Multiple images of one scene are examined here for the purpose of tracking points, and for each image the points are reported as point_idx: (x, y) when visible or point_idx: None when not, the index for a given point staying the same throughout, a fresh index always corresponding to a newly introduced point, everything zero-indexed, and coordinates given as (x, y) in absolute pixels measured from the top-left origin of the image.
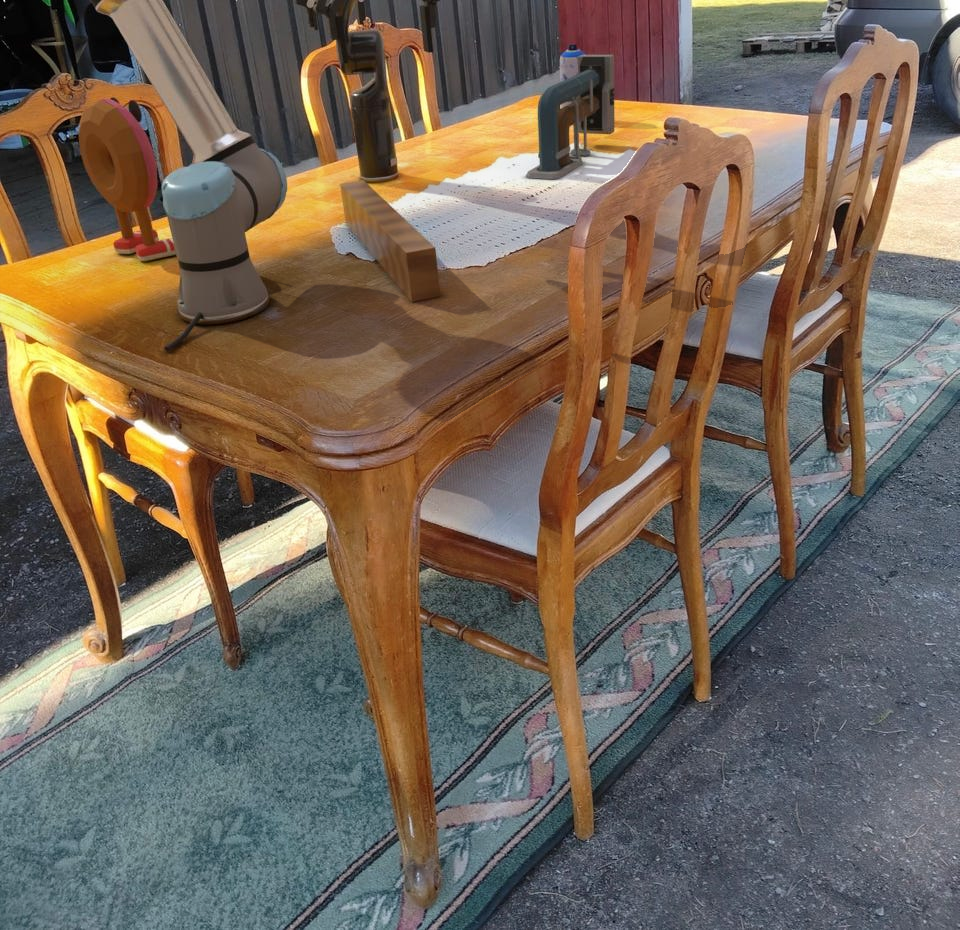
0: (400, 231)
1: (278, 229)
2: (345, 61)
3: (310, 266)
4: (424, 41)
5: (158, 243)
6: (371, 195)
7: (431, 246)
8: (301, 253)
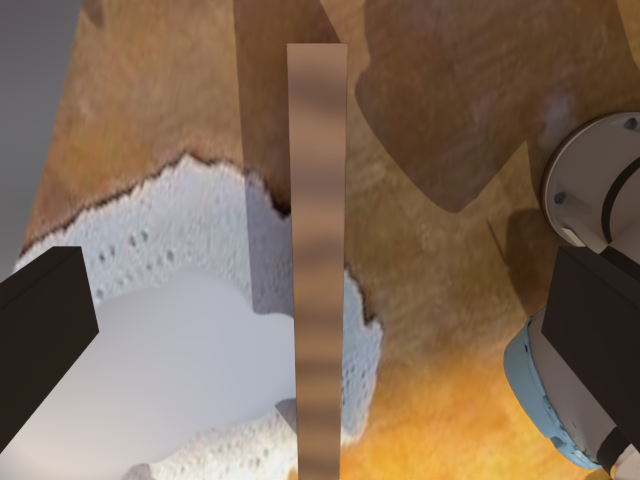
0: (320, 185)
1: (430, 467)
2: (578, 250)
3: (437, 296)
4: (66, 334)
5: None
6: (309, 412)
7: (291, 54)
8: (431, 357)
